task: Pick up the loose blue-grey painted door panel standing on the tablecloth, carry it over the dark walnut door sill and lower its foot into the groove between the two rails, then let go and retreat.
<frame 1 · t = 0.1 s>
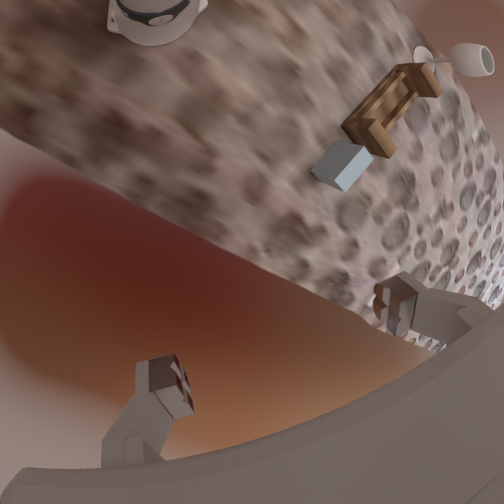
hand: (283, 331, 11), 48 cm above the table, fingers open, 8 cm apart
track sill: (380, 105, 57), on the table
wineglass: (423, 61, 54), on the table
door panel: (328, 160, 60), on the table
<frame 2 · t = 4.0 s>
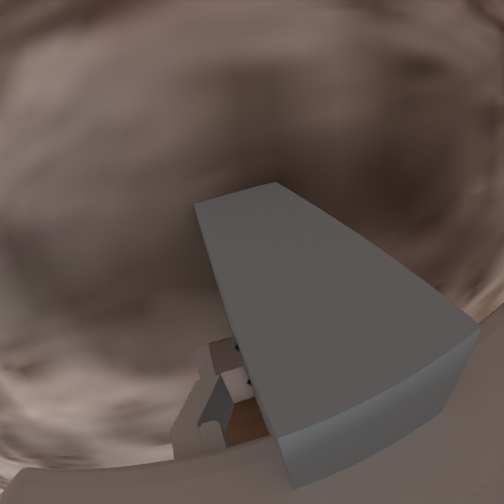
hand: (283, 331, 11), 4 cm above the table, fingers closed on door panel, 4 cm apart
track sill: (288, 450, 23), on the table
door panel: (255, 283, 14), on the table, touching gripper
when the fingers open (6 cm above the table, at t = 8.8 s): door panel stays where it is, resting on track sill.
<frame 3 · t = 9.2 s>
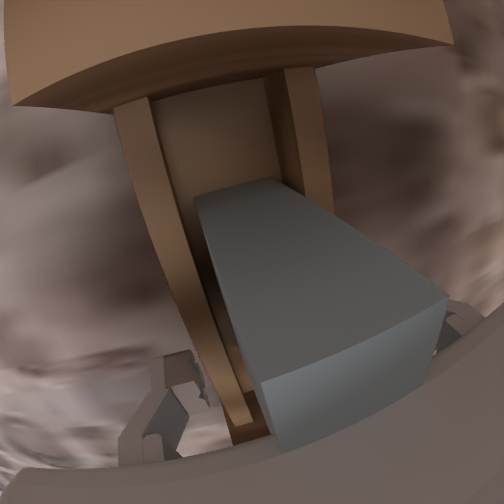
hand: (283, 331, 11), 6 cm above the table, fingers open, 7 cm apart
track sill: (243, 261, 16), on the table
door panel: (251, 273, 15), point 1 cm above the table, touching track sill
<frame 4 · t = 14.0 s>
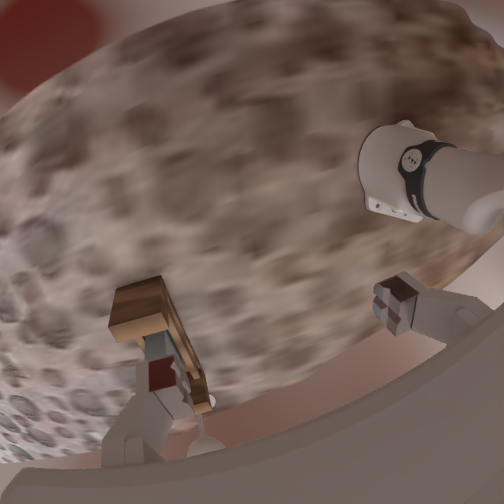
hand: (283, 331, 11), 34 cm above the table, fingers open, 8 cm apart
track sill: (163, 336, 51), on the table
wineglass: (196, 402, 61), on the table
door panel: (164, 341, 49), point 1 cm above the table, touching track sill
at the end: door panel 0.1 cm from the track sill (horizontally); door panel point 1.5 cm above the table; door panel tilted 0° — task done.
